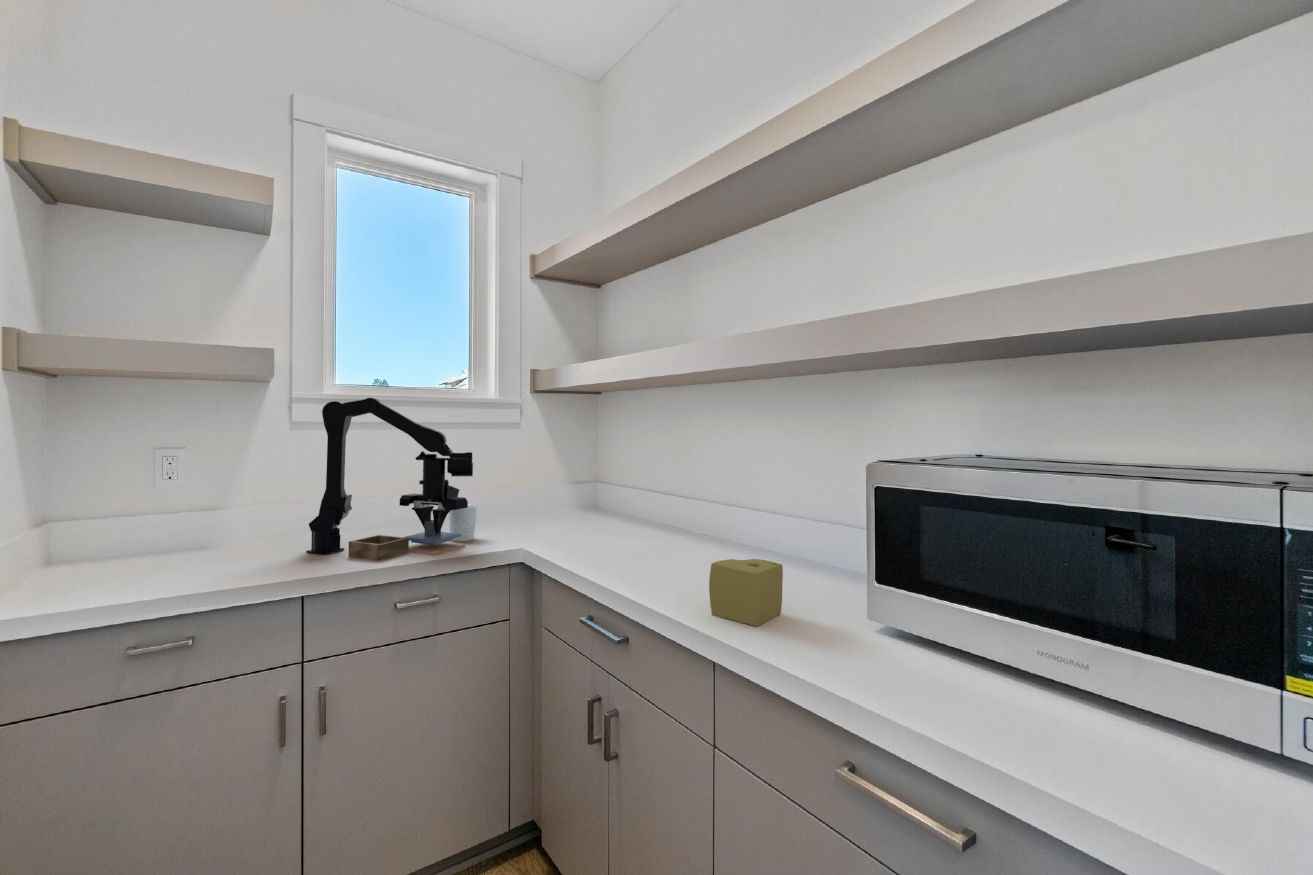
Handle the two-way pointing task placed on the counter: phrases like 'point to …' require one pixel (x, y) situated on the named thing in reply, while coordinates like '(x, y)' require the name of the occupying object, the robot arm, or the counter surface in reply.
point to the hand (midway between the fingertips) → (432, 532)
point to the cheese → (746, 590)
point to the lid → (432, 535)
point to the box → (378, 547)
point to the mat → (434, 548)
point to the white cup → (463, 522)
